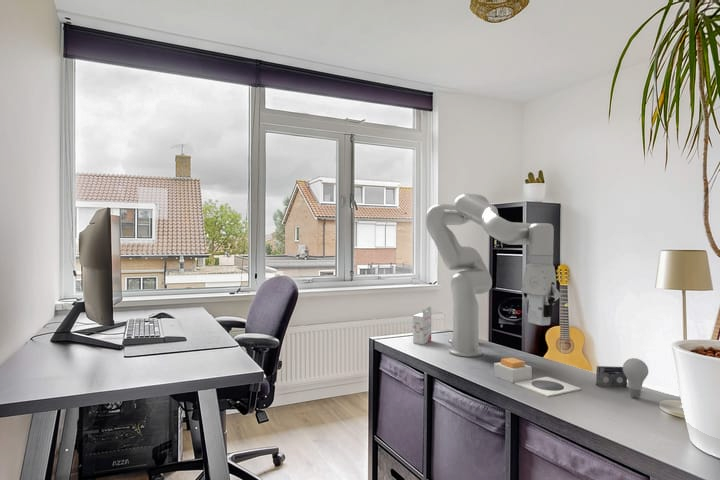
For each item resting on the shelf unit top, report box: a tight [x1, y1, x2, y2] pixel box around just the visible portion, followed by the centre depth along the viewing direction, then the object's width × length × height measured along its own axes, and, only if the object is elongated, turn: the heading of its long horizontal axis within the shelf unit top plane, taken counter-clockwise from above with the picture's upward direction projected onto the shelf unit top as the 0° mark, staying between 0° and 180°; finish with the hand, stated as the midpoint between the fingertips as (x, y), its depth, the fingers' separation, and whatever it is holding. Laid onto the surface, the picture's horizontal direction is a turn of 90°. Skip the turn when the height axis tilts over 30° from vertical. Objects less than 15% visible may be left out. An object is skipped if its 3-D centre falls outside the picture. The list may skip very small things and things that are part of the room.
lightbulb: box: [622, 357, 649, 399], centre depth 125 cm, size 6×6×11 cm
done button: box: [500, 356, 525, 368], centre depth 142 cm, size 5×5×3 cm
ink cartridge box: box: [412, 306, 432, 345], centre depth 189 cm, size 9×5×15 cm, turn 147°
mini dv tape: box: [595, 365, 628, 389], centre depth 135 cm, size 8×2×6 cm, turn 86°
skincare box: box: [527, 291, 552, 326], centre depth 148 cm, size 6×4×12 cm
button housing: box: [493, 361, 533, 384], centre depth 143 cm, size 8×8×4 cm
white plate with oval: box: [514, 376, 582, 398], centre depth 134 cm, size 12×14×1 cm
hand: (539, 314), depth 148 cm, fingers closed on skincare box, 6 cm apart
